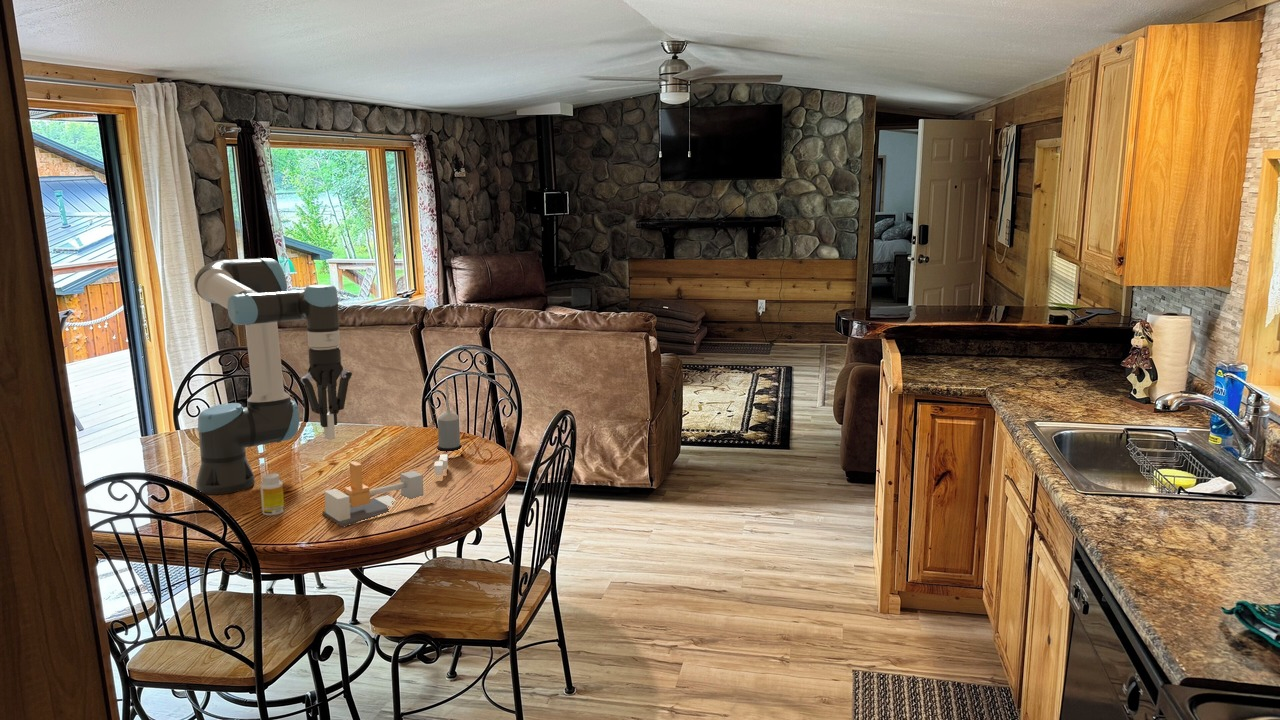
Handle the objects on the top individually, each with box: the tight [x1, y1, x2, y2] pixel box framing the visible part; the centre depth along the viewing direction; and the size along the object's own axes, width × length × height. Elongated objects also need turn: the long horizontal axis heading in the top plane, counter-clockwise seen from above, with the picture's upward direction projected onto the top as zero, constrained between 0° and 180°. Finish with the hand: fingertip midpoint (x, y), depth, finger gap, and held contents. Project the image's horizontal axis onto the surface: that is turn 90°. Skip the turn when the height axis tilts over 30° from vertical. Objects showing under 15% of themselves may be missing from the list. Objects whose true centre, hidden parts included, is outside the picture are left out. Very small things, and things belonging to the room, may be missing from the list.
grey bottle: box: [436, 379, 463, 452], centre depth 280 cm, size 8×8×25 cm
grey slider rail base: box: [322, 470, 425, 528], centre depth 233 cm, size 26×12×8 cm, turn 134°
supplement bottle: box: [259, 472, 286, 517], centre depth 229 cm, size 6×6×10 cm
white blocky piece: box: [433, 454, 449, 476], centre depth 261 cm, size 15×11×6 cm
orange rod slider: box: [343, 460, 371, 508], centre depth 228 cm, size 5×4×11 cm
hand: (329, 438), depth 221 cm, fingers closed
